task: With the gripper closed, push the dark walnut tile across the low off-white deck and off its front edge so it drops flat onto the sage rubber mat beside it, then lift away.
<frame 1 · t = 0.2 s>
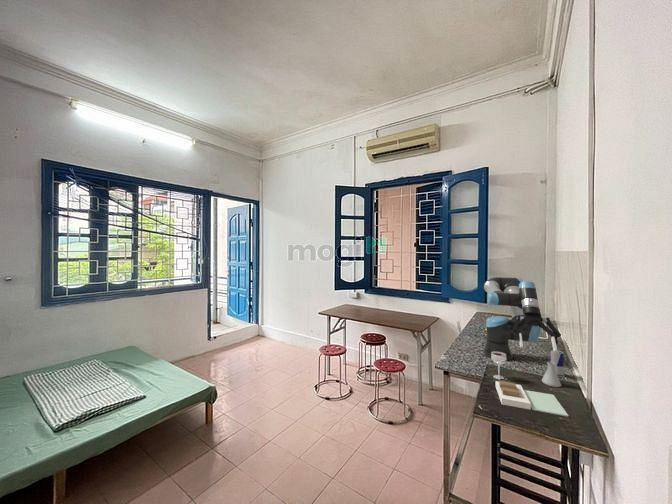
hand: (538, 349, 130), 16 cm above the table, tool tilted 35°, fingers open, 13 cm apart
mat: (543, 402, 112), on the table
flask: (551, 384, 127), on the table
energy drink: (557, 375, 136), on the table
wineglass: (498, 377, 134), on the table
walnut tile: (508, 390, 116), point 2 cm above the table, touching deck
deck: (511, 397, 116), on the table
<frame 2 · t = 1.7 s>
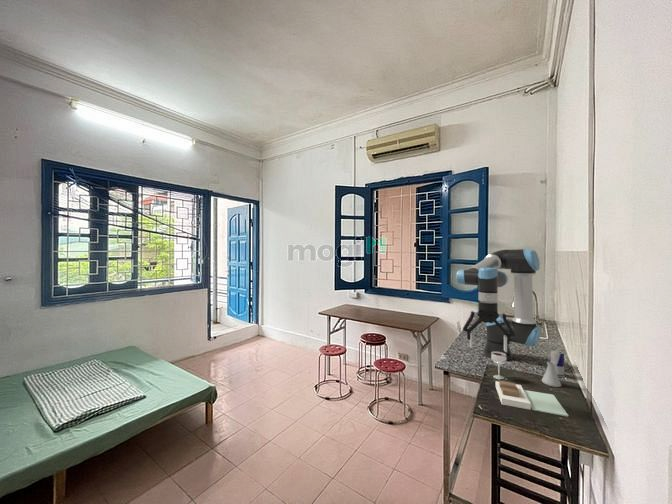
hand: (487, 349, 120), 20 cm above the table, tool pointing down, fingers open, 13 cm apart
nothing on the table moved.
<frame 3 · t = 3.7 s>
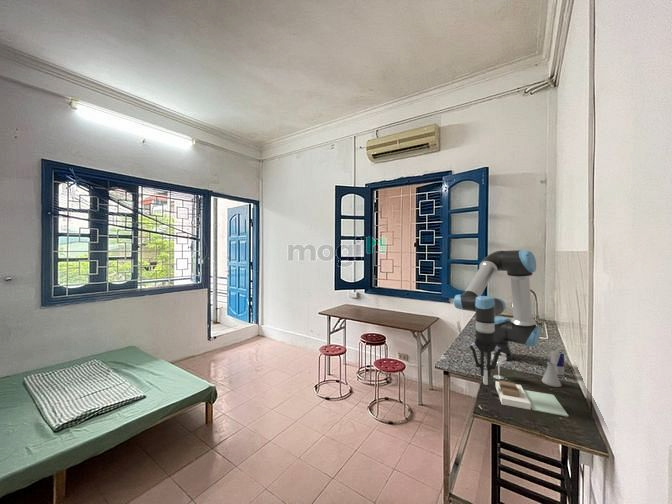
hand: (485, 383, 120), 4 cm above the table, tool pointing down, fingers closed
nothing on the table moved.
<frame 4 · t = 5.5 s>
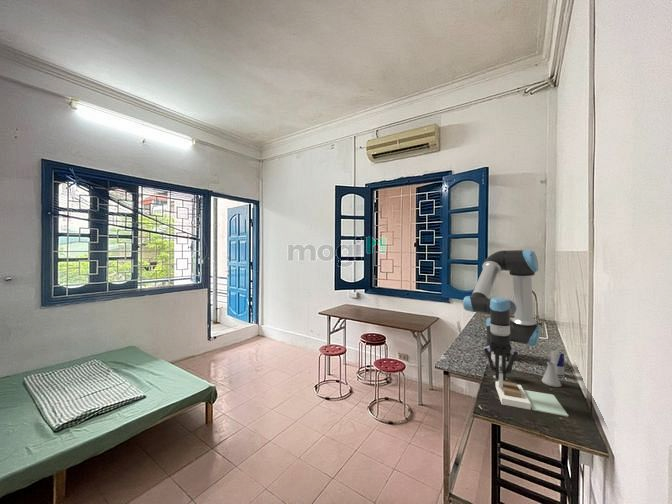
hand: (500, 386, 118), 4 cm above the table, tool pointing down, fingers closed
walnut tile: (510, 391, 116), point 3 cm above the table
everything else where it was.
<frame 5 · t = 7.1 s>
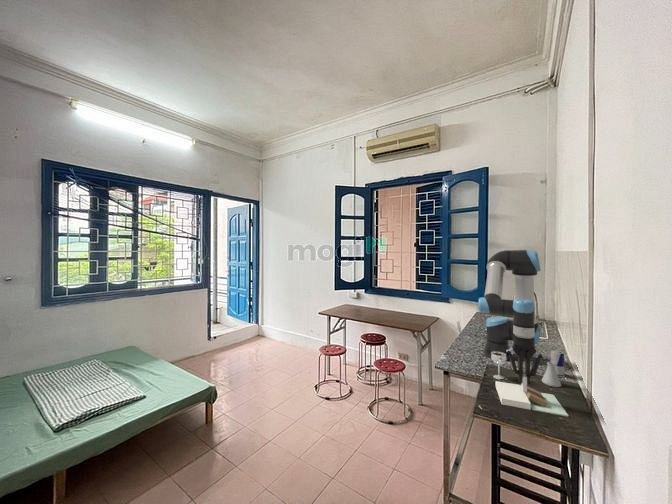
hand: (524, 390, 114), 4 cm above the table, tool pointing down, fingers closed
walnut tile: (533, 397, 113), point 2 cm above the table, tilted 20°, touching mat
everything else where it was.
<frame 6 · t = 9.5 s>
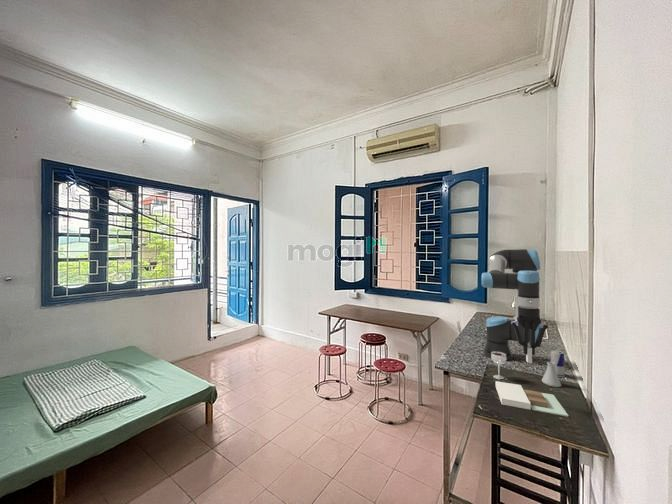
hand: (529, 362, 114), 16 cm above the table, tool pointing down, fingers closed
walnut tile: (535, 400, 112), resting on mat
everything else where it was.
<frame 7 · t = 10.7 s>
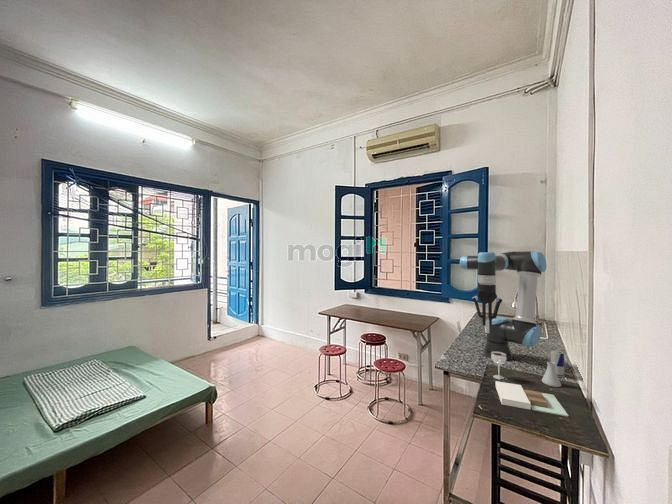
hand: (487, 332, 129), 24 cm above the table, tool pointing down, fingers closed
nothing on the table moved.
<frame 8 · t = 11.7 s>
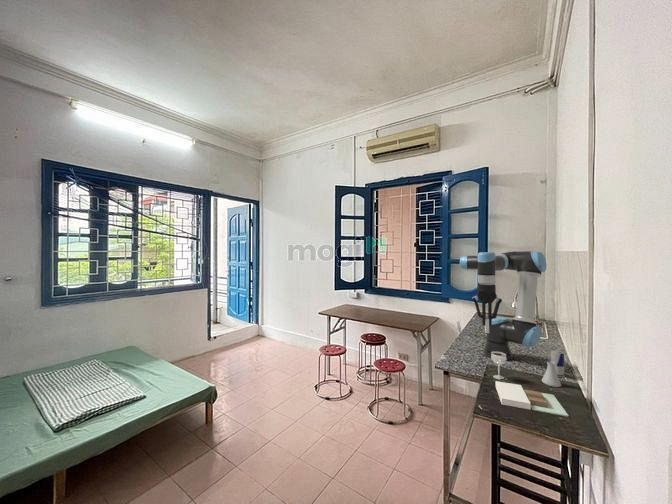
hand: (487, 332, 129), 24 cm above the table, tool pointing down, fingers closed
nothing on the table moved.
at the end: walnut tile inside the target area (2.8 cm from its centre), point 0.5 cm above the table; walnut tile touching mat; walnut tile tilted 0° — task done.
